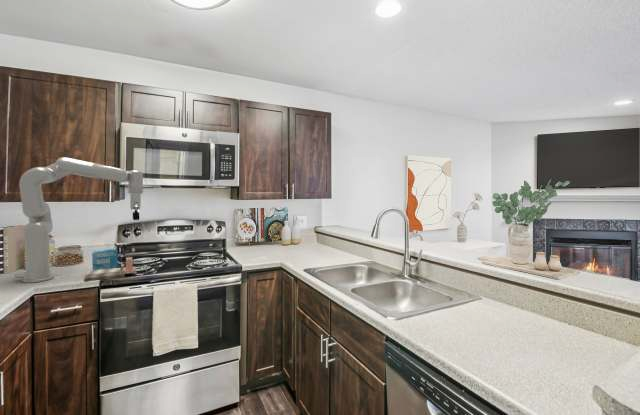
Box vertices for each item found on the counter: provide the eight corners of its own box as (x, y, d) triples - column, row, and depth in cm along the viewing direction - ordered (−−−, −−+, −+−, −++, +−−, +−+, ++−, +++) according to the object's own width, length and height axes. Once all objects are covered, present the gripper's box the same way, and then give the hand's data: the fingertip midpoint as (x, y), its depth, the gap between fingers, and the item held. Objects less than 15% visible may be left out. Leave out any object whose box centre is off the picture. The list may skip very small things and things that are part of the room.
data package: (95, 272, 182) (94, 252, 181) (92, 271, 185) (92, 251, 184) (118, 268, 192) (117, 249, 191) (115, 267, 194) (114, 248, 194)
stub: (122, 273, 173) (122, 260, 173) (123, 270, 181) (123, 257, 180) (135, 272, 176) (135, 259, 176) (135, 269, 184) (135, 256, 184)
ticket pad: (84, 281, 164) (84, 274, 163) (86, 276, 172) (86, 270, 172) (124, 277, 173) (124, 270, 173) (124, 273, 182) (124, 266, 181)
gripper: (128, 190, 192) (128, 218, 193) (128, 191, 177) (128, 220, 178) (142, 191, 196) (142, 218, 197) (143, 191, 181) (143, 220, 182)
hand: (135, 219), depth 188 cm, fingers open, 9 cm apart
